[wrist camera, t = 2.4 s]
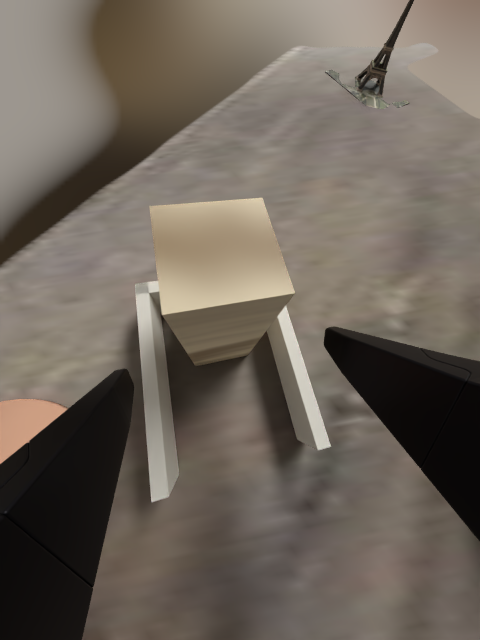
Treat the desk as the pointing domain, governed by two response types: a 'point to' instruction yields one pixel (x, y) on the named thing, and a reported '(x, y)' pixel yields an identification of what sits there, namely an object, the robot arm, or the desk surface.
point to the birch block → (218, 275)
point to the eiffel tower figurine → (376, 72)
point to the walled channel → (159, 400)
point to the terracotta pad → (24, 422)
